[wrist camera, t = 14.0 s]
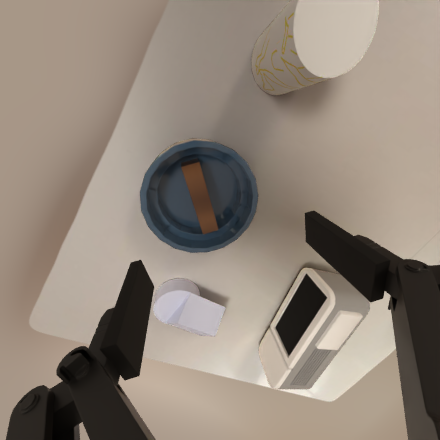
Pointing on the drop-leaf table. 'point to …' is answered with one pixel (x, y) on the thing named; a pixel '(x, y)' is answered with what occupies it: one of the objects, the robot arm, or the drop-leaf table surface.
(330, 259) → the robot arm
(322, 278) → the alarm clock
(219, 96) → the drop-leaf table surface
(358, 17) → the white patterned canister
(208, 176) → the bowl
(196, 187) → the stick
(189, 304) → the wedge on round base
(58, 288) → the drop-leaf table surface
